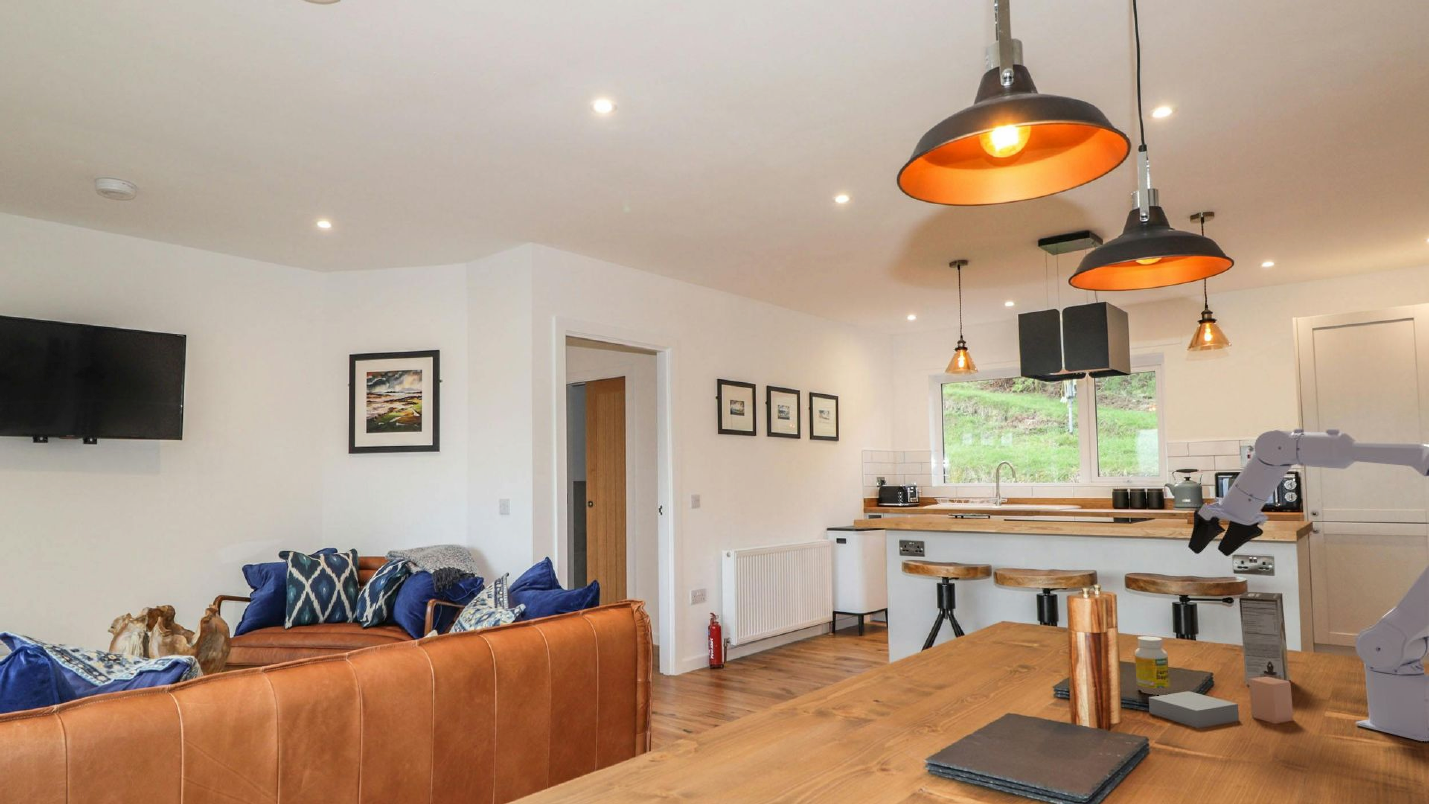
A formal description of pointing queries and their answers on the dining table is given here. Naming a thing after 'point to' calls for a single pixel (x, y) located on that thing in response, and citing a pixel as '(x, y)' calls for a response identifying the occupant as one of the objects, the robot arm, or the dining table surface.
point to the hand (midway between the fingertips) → (1208, 551)
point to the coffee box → (1263, 635)
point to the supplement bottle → (1151, 663)
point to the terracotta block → (1271, 699)
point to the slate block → (1194, 709)
